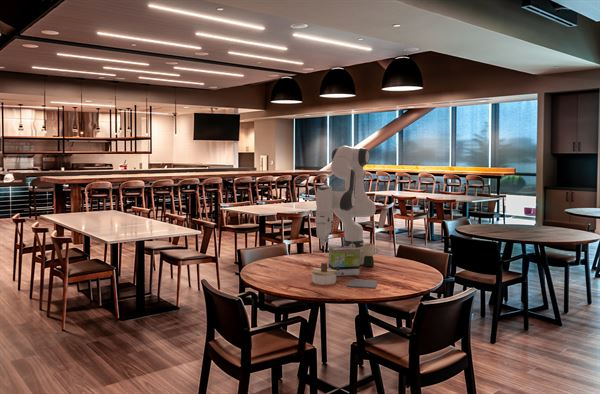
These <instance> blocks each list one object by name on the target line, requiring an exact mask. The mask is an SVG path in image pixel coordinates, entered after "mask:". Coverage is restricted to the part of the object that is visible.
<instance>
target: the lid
mask: <svg viewBox="0 0 600 394" xmlns="http://www.w3.org/2000/svg"><path fill="white" fill-rule="evenodd" d="M312 273H313V274H315V275H334V274H336V273H337V271H336V270H334V269H329V268H328V262H321V265H320V268H313V269H311V274H312Z"/></svg>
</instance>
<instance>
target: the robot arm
mask: <svg viewBox="0 0 600 394" xmlns="http://www.w3.org/2000/svg"><path fill="white" fill-rule="evenodd" d="M369 159H370V152H369V150H368V149H367V148H366V147H359V146H349V145H341V146H340V147H335V148H334V149H333V150H332V152H331V165H330V169H331V172H332V174H333V175H334V176H335V177H336V178H338V179H341V180H343V181H344V189H345V190H343V191H339V190H333V187H332V186H331V185H329V184H328V185H326V184H324V185H320V186H318V187H317V188H316V195H315V196H316V197H315V204H316V209H315V217H314V223H315V226H316V227H315V228H316V229H315V230H316V237H317V239H319V243H320V246H321V247H324V246H325V243H328V242H329V237H330V234H331V233H332V222H333V221H334V215H335V216H336V217H337V218H338V219H339V220H340V222H341V223H342V225H343V230H344V240H343V247H346V246H354V247H356V248H358V249H360V247H363V244H365V241H364V228H363V226H362V225H361V224H360V223H358V222H356V221H354V218H369V217H373V216H374V214H376V209H377V207H376V204H375V202H374V201H373V200H372V199H371V198H370V197H369V196H368V195H367V193H366V189H365V184H364V183H365V182H364V181H365V179H364V175H365V173H364V171H365V170H364V166H367V164H368V163H369ZM361 251H363V249H361ZM364 257H365V256H364V255H363V253H360V265H363V263H364Z"/></svg>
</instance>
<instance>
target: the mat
mask: <svg viewBox="0 0 600 394" xmlns="http://www.w3.org/2000/svg"><path fill="white" fill-rule="evenodd" d="M378 282H379V281H378V280H375V279H374V280H371V279H359V278H358V279H357V278H350V280H349V282H348V283H347V285H346V287H348V288H358V289H359V288H361V289H362V288H364V289H376V288H377V286H378Z"/></svg>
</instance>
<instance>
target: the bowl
mask: <svg viewBox="0 0 600 394" xmlns="http://www.w3.org/2000/svg"><path fill="white" fill-rule="evenodd" d="M311 274H312V275H311V277H312V278H311V281H312V283H314V284H315V285H323V286H325V285H327V286H328V285H334V284H336V283H337V276H336V274H334V275H315V274H313V273H312V272H311Z"/></svg>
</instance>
